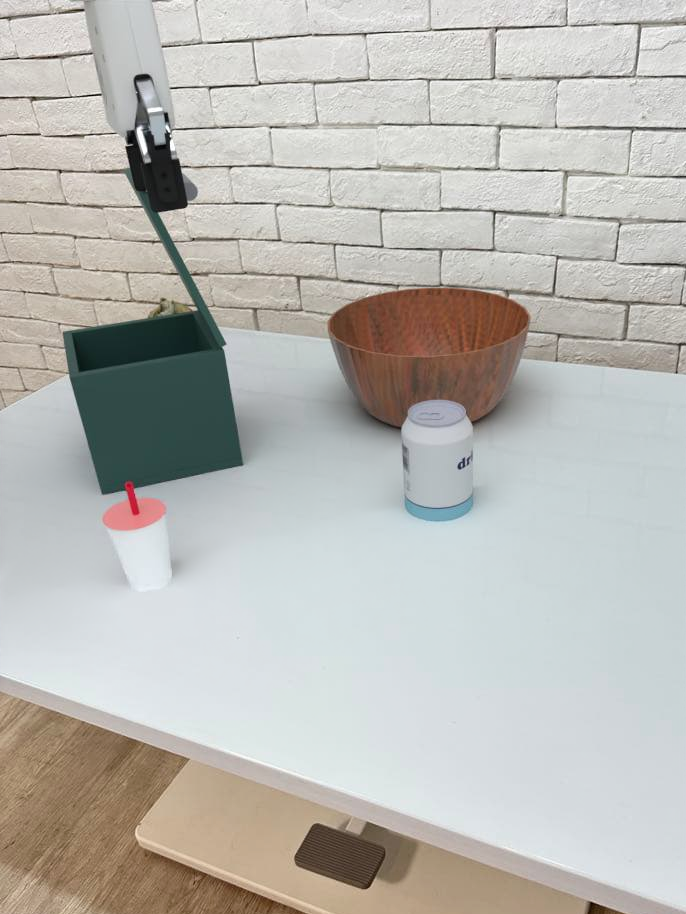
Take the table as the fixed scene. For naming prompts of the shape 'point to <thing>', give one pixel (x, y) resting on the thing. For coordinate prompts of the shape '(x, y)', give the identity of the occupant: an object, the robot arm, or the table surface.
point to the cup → (141, 540)
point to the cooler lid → (175, 256)
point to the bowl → (429, 349)
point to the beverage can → (437, 461)
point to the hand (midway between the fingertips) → (160, 198)
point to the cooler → (153, 399)
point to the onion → (168, 308)
